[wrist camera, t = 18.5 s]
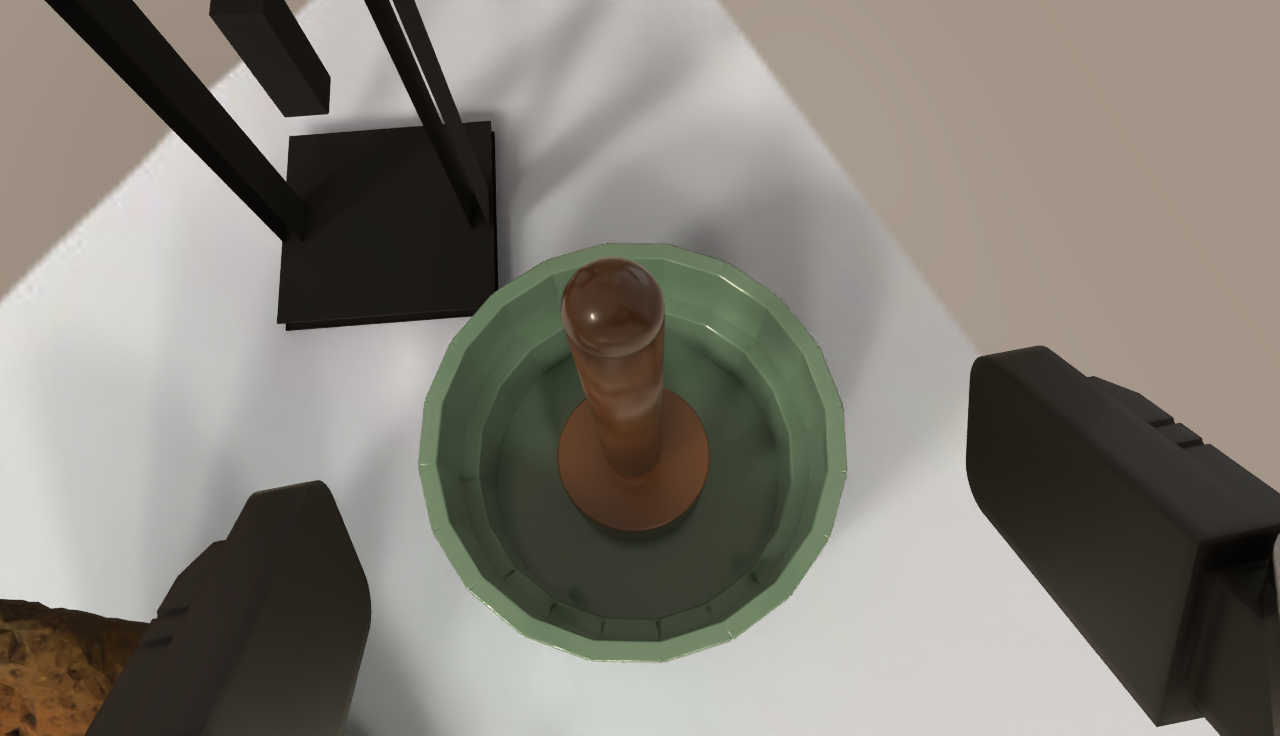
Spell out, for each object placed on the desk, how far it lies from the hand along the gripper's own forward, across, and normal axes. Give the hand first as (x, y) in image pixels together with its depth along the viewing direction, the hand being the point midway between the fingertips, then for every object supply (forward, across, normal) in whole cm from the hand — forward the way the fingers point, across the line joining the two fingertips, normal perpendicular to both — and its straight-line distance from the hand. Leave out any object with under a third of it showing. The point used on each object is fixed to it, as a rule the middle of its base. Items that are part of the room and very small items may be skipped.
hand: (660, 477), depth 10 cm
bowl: (+14, 0, +9) cm, 17 cm away
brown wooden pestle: (+13, 0, +9) cm, 16 cm away
